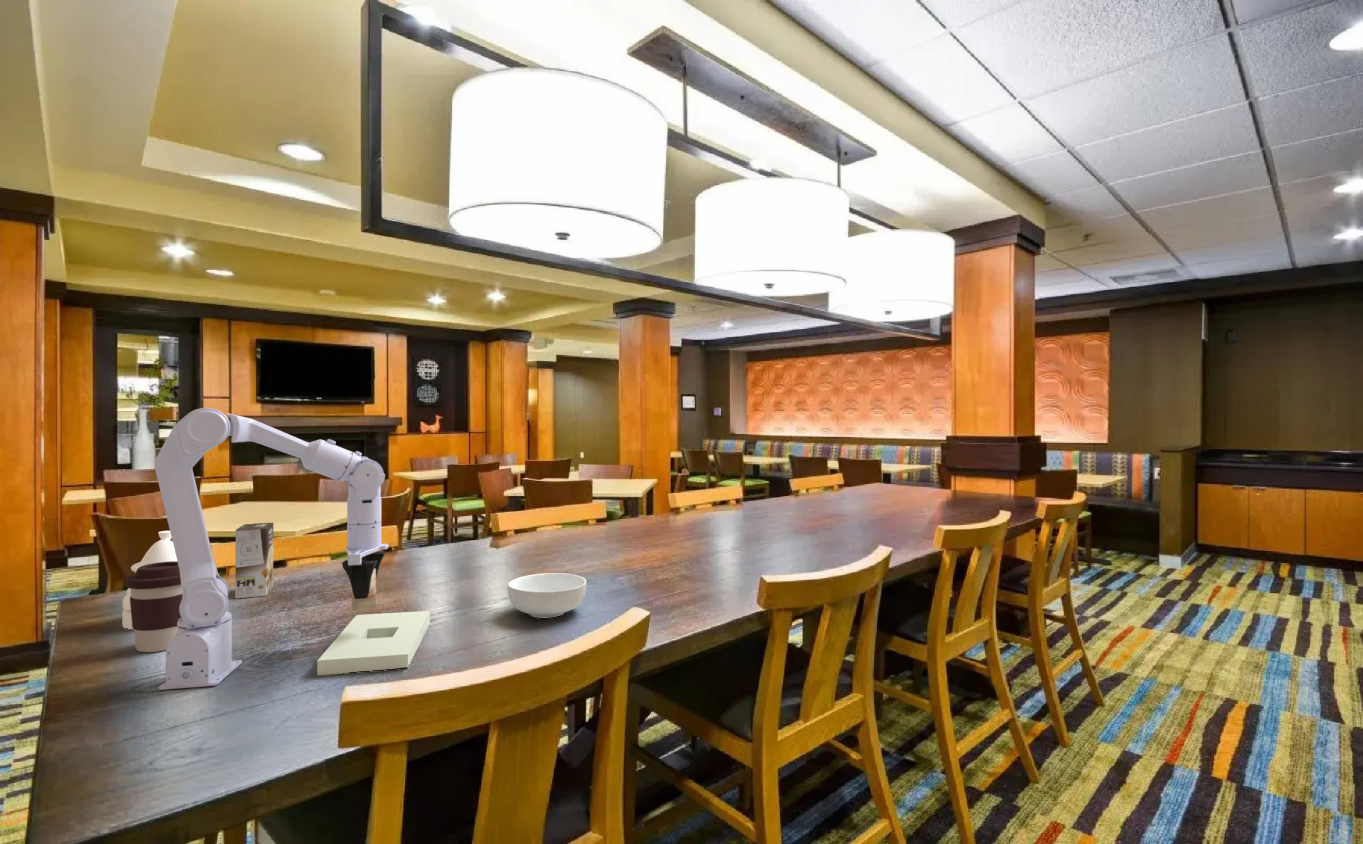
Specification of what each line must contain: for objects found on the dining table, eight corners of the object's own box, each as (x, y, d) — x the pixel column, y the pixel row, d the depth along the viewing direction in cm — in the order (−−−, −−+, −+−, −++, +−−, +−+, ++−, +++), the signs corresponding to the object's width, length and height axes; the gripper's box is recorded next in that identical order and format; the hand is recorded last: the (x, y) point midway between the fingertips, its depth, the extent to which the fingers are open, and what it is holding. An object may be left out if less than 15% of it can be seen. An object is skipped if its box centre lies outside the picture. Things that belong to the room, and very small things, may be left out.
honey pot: (133, 614, 134) (133, 530, 133) (208, 606, 140) (208, 526, 139) (112, 633, 122) (112, 541, 122) (194, 624, 128) (195, 536, 128)
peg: (372, 610, 116) (372, 572, 116) (348, 611, 115) (348, 573, 115) (378, 603, 120) (378, 567, 120) (355, 604, 119) (355, 568, 119)
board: (407, 668, 108) (407, 654, 107) (317, 675, 104) (317, 660, 104) (429, 622, 131) (429, 610, 131) (356, 627, 128) (356, 615, 128)
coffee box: (267, 596, 148) (267, 528, 148) (234, 599, 145) (234, 530, 145) (273, 586, 156) (274, 521, 156) (242, 589, 154) (243, 523, 153)
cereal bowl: (598, 605, 144) (598, 575, 144) (565, 629, 128) (566, 595, 128) (531, 599, 149) (531, 569, 149) (492, 621, 133) (492, 587, 133)
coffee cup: (140, 640, 119) (140, 561, 119) (203, 634, 123) (203, 557, 122) (114, 659, 110) (115, 573, 110) (183, 652, 113) (184, 569, 113)
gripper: (378, 528, 112) (378, 604, 112) (395, 515, 126) (395, 583, 126) (335, 530, 110) (335, 607, 110) (356, 516, 124) (356, 585, 124)
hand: (364, 594), depth 118 cm, fingers closed on peg, 4 cm apart
